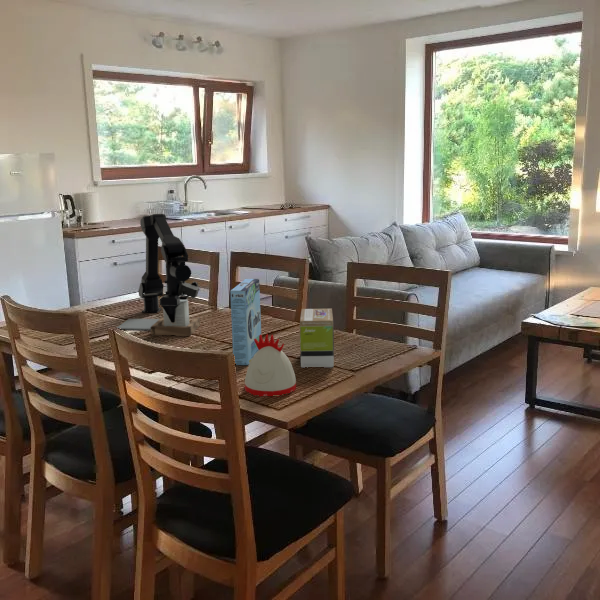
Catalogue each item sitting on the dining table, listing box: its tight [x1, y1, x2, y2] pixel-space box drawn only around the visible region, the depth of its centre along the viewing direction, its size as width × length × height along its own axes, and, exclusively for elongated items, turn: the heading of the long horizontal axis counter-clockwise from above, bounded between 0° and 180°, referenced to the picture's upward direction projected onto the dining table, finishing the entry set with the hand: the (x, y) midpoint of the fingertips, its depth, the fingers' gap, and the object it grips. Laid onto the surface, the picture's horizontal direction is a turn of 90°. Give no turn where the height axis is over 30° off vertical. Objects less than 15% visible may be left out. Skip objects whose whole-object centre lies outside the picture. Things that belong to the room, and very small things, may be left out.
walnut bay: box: [150, 316, 201, 337], centre depth 239 cm, size 14×14×3 cm
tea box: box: [299, 308, 335, 369], centre depth 202 cm, size 15×10×15 cm
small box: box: [162, 299, 190, 326], centre depth 240 cm, size 8×6×10 cm
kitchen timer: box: [244, 333, 297, 397], centre depth 179 cm, size 14×14×15 cm
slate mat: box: [116, 318, 161, 331], centre depth 247 cm, size 14×14×1 cm
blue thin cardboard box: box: [229, 278, 262, 366], centre depth 206 cm, size 20×5×23 cm, turn 171°
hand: (176, 319), depth 240 cm, fingers open, 9 cm apart
